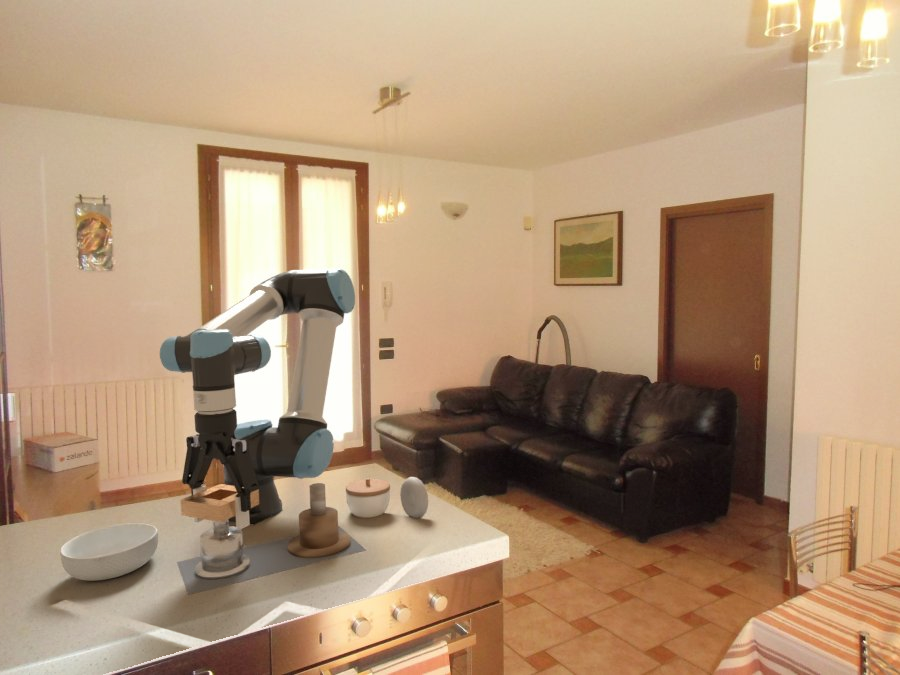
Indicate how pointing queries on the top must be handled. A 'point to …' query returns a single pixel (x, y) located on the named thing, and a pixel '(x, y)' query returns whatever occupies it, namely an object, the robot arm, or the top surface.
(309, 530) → the walnut hub
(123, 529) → the cereal bowl
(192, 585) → the rubber mat
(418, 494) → the grey piece
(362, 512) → the lidded jar
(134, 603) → the top surface
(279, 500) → the robot arm
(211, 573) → the pale stepped hub
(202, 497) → the wooden square ring
